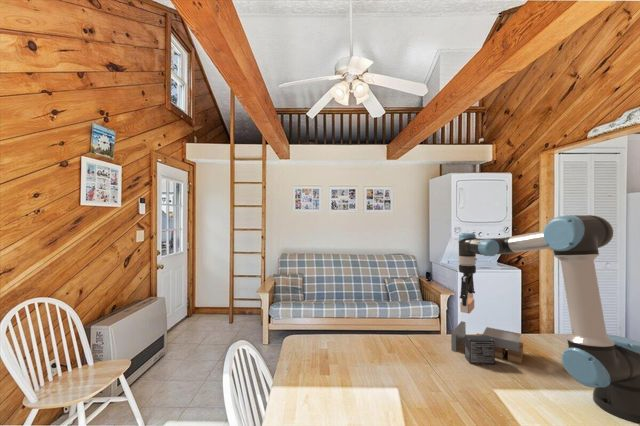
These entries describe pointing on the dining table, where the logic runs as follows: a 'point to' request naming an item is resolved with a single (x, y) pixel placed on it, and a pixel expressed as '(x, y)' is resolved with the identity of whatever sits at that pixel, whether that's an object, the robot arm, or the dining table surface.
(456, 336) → the bar
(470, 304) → the block
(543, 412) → the dining table surface
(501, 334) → the slab
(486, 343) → the small box
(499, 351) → the bed
